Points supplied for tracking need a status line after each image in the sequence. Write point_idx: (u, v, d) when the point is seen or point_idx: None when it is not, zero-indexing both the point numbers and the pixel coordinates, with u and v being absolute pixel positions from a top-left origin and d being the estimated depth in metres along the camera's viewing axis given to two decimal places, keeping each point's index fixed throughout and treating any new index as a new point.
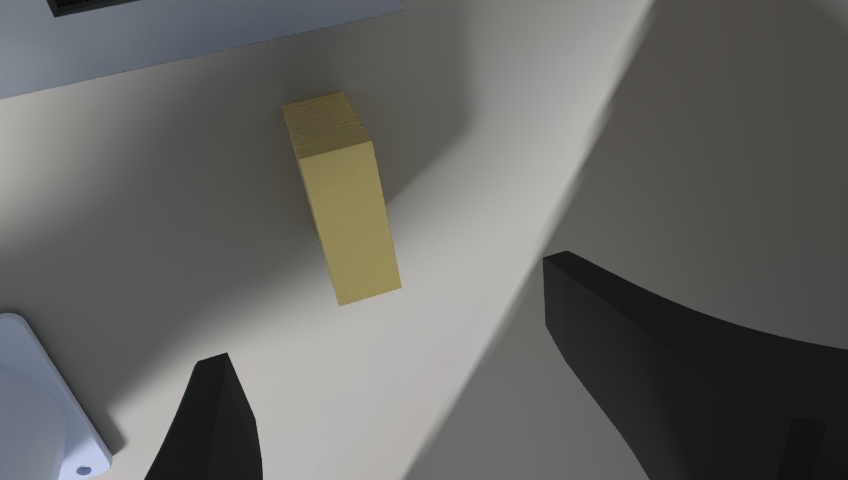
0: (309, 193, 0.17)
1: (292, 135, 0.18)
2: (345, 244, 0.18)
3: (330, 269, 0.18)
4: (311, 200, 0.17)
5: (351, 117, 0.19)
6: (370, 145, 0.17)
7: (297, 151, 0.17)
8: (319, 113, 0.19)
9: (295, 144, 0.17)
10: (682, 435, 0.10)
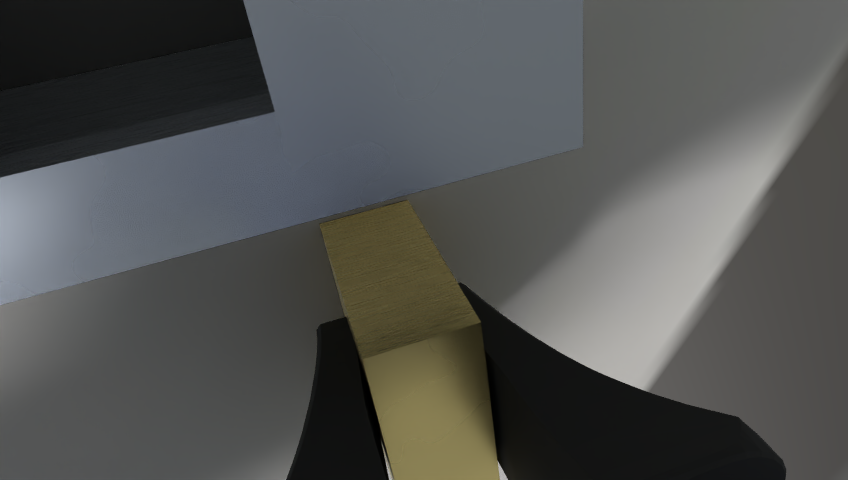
0: (376, 403, 0.10)
1: (344, 295, 0.11)
2: (427, 463, 0.12)
3: None
4: (378, 413, 0.11)
5: (433, 260, 0.12)
6: (477, 329, 0.10)
7: (357, 337, 0.10)
8: (380, 247, 0.12)
9: (351, 319, 0.11)
10: None
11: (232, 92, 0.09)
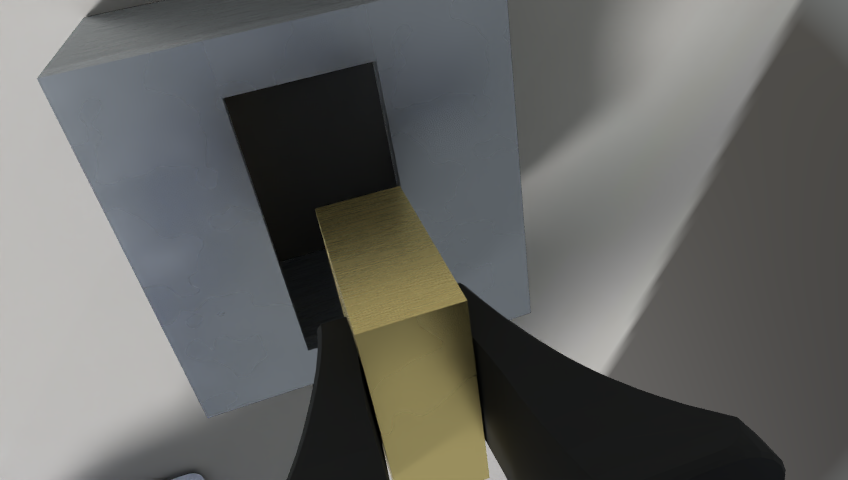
0: (367, 377, 0.11)
1: (337, 276, 0.12)
2: (416, 435, 0.12)
3: (391, 468, 0.12)
4: (370, 386, 0.11)
5: (422, 242, 0.12)
6: (463, 307, 0.11)
7: (349, 314, 0.11)
8: (373, 230, 0.13)
9: (344, 297, 0.11)
10: None
11: None
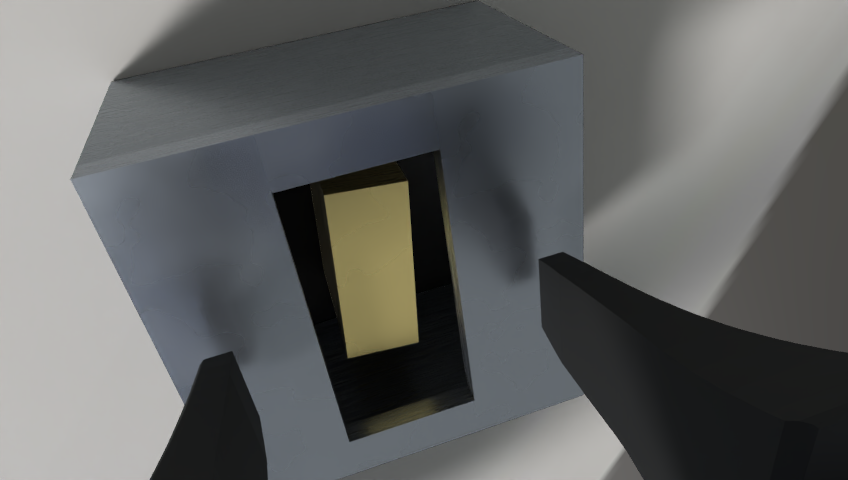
0: (330, 233, 0.15)
1: None
2: (364, 291, 0.16)
3: (343, 318, 0.16)
4: (332, 241, 0.15)
5: None
6: (405, 185, 0.15)
7: (321, 185, 0.15)
8: None
9: None
10: (676, 437, 0.10)
11: (427, 351, 0.20)
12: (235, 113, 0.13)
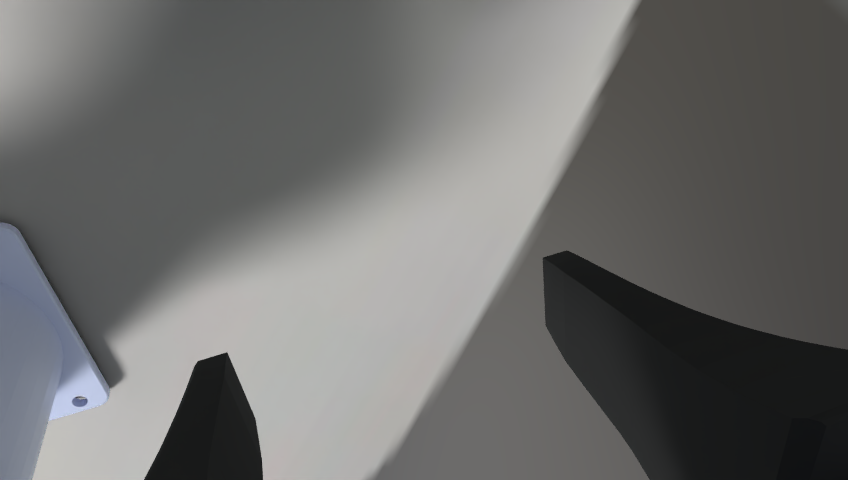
0: None
1: None
2: None
3: None
4: None
5: None
6: None
7: None
8: None
9: None
10: (682, 435, 0.10)
11: None
12: None
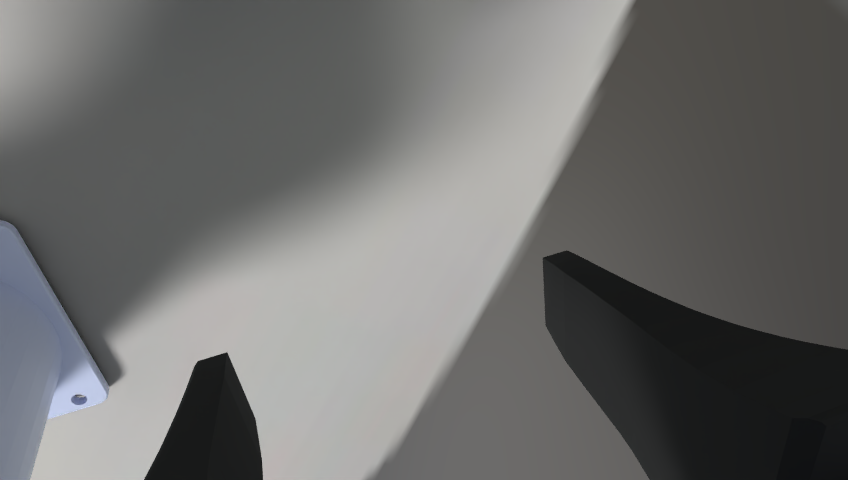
0: None
1: None
2: None
3: None
4: None
5: None
6: None
7: None
8: None
9: None
10: (682, 435, 0.10)
11: None
12: None
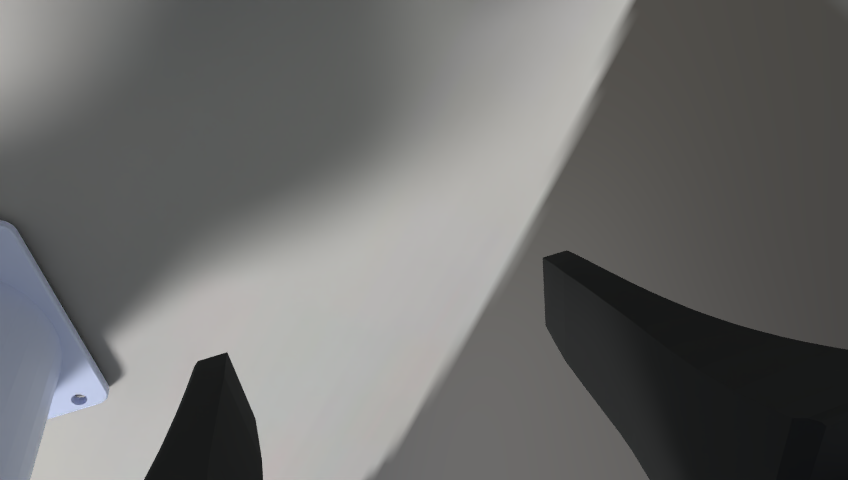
0: None
1: None
2: None
3: None
4: None
5: None
6: None
7: None
8: None
9: None
10: (682, 435, 0.10)
11: None
12: None
